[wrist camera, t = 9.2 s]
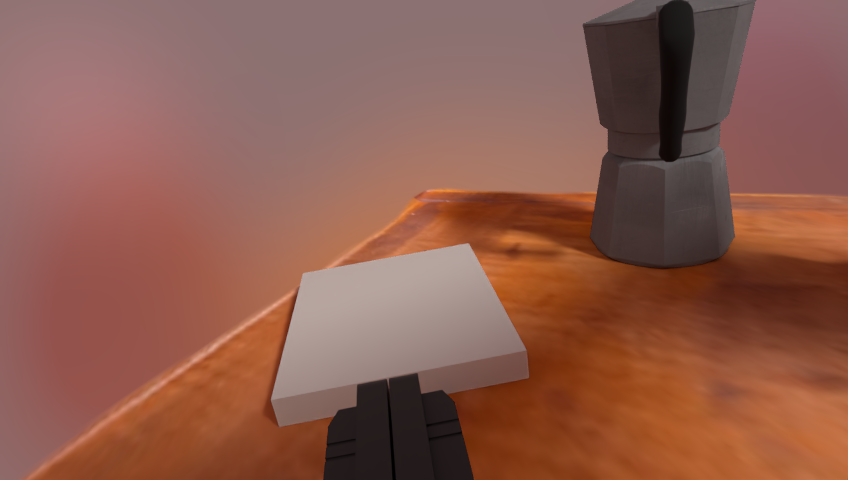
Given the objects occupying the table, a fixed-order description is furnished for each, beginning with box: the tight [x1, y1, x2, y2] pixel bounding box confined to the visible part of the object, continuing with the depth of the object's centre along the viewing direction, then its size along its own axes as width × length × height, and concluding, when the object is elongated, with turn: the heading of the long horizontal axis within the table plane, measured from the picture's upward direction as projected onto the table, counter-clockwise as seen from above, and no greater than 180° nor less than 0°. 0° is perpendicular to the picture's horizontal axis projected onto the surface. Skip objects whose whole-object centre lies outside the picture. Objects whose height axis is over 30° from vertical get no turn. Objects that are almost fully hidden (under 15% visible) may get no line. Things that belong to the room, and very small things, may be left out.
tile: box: [271, 243, 529, 427], centre depth 31 cm, size 12×2×14 cm
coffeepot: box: [583, 0, 756, 268], centre depth 32 cm, size 15×9×18 cm, turn 161°
